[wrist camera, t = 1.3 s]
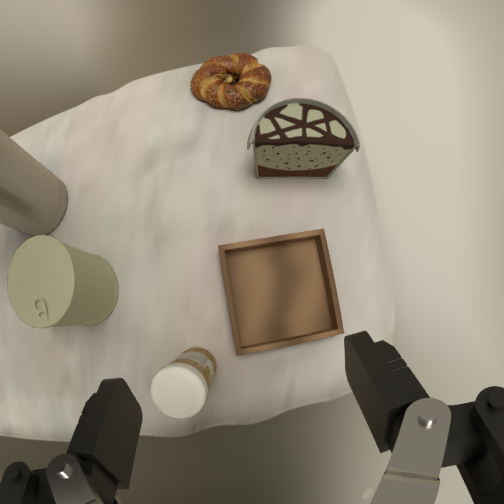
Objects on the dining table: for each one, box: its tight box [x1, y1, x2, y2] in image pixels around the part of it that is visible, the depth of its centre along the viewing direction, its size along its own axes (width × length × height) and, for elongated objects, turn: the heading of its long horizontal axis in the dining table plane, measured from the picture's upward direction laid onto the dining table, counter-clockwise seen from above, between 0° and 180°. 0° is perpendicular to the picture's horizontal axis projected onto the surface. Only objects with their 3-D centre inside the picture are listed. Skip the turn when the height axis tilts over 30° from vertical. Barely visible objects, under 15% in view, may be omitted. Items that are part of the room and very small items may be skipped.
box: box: [218, 229, 344, 355], centre depth 36 cm, size 12×12×3 cm
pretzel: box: [191, 52, 271, 110], centre depth 41 cm, size 12×11×4 cm
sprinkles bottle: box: [150, 348, 216, 419], centre depth 29 cm, size 5×5×13 cm
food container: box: [247, 98, 360, 179], centre depth 36 cm, size 12×6×10 cm, turn 93°
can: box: [7, 235, 118, 328], centre depth 30 cm, size 9×9×12 cm
